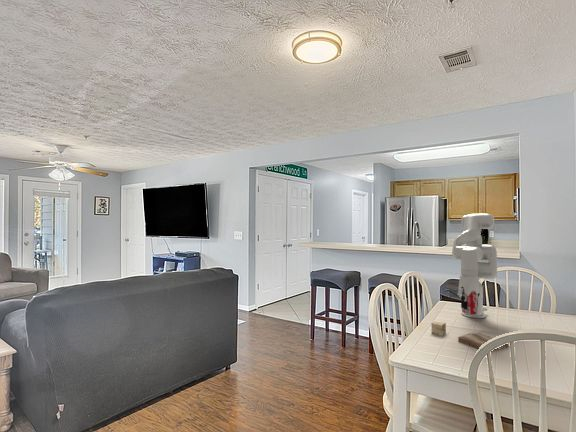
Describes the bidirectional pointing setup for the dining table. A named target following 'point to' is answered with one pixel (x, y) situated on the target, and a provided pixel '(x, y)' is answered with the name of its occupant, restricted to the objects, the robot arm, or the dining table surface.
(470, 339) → the walnut tray
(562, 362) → the dining table surface
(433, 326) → the oak block
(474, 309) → the soda can
